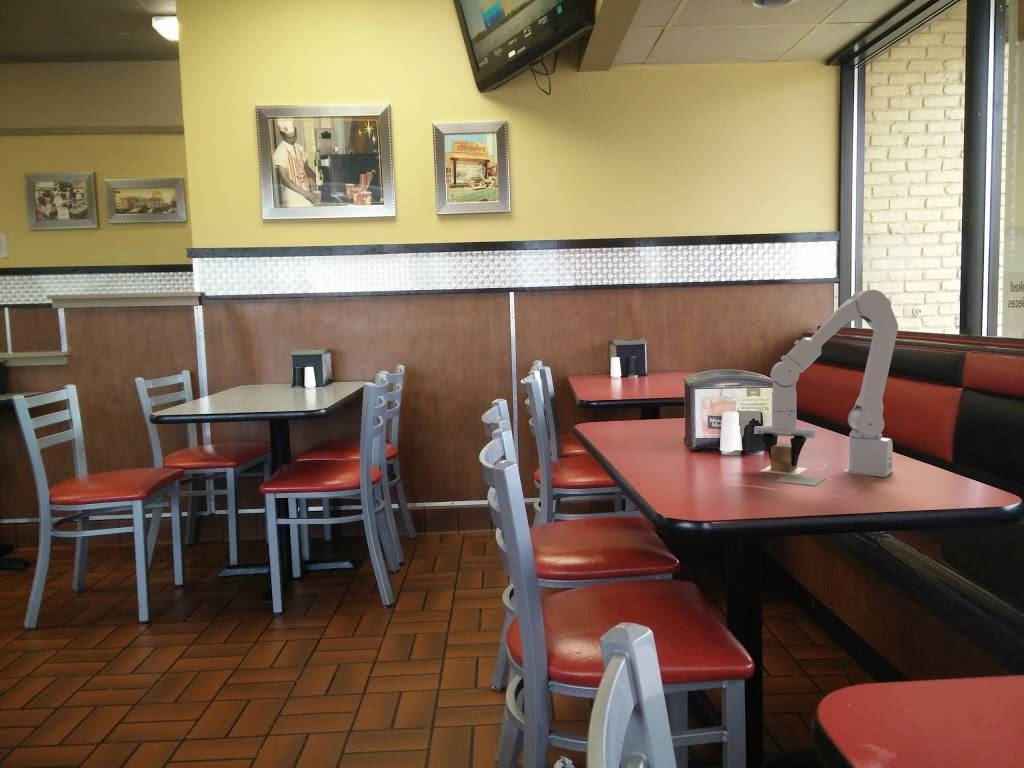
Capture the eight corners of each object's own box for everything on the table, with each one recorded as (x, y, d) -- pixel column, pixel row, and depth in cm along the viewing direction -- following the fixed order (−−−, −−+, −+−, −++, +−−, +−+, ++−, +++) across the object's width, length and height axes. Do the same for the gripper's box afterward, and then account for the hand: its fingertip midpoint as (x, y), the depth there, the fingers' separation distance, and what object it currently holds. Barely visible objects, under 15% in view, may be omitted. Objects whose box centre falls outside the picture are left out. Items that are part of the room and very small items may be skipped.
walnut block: (796, 468, 192) (797, 444, 191) (789, 472, 187) (789, 448, 187) (778, 466, 195) (778, 443, 194) (770, 470, 190) (770, 446, 189)
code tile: (807, 469, 192) (807, 468, 192) (796, 476, 185) (796, 474, 185) (771, 466, 197) (771, 464, 197) (759, 472, 190) (759, 471, 190)
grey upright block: (757, 450, 221) (757, 408, 219) (760, 452, 216) (761, 410, 215) (736, 450, 221) (736, 408, 220) (738, 452, 217) (738, 410, 216)
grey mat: (825, 480, 180) (825, 477, 180) (814, 488, 173) (814, 485, 173) (786, 476, 185) (786, 473, 185) (774, 483, 178) (774, 480, 178)
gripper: (749, 410, 191) (749, 464, 192) (809, 414, 182) (809, 470, 183) (759, 407, 196) (759, 460, 198) (818, 410, 188) (817, 465, 189)
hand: (783, 464), depth 191 cm, fingers closed on walnut block, 4 cm apart
